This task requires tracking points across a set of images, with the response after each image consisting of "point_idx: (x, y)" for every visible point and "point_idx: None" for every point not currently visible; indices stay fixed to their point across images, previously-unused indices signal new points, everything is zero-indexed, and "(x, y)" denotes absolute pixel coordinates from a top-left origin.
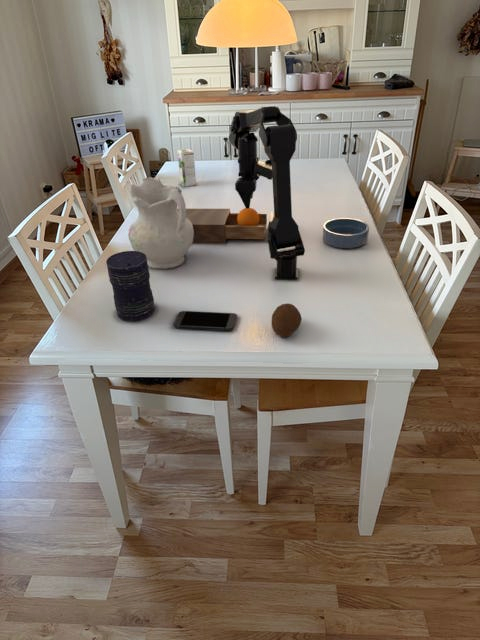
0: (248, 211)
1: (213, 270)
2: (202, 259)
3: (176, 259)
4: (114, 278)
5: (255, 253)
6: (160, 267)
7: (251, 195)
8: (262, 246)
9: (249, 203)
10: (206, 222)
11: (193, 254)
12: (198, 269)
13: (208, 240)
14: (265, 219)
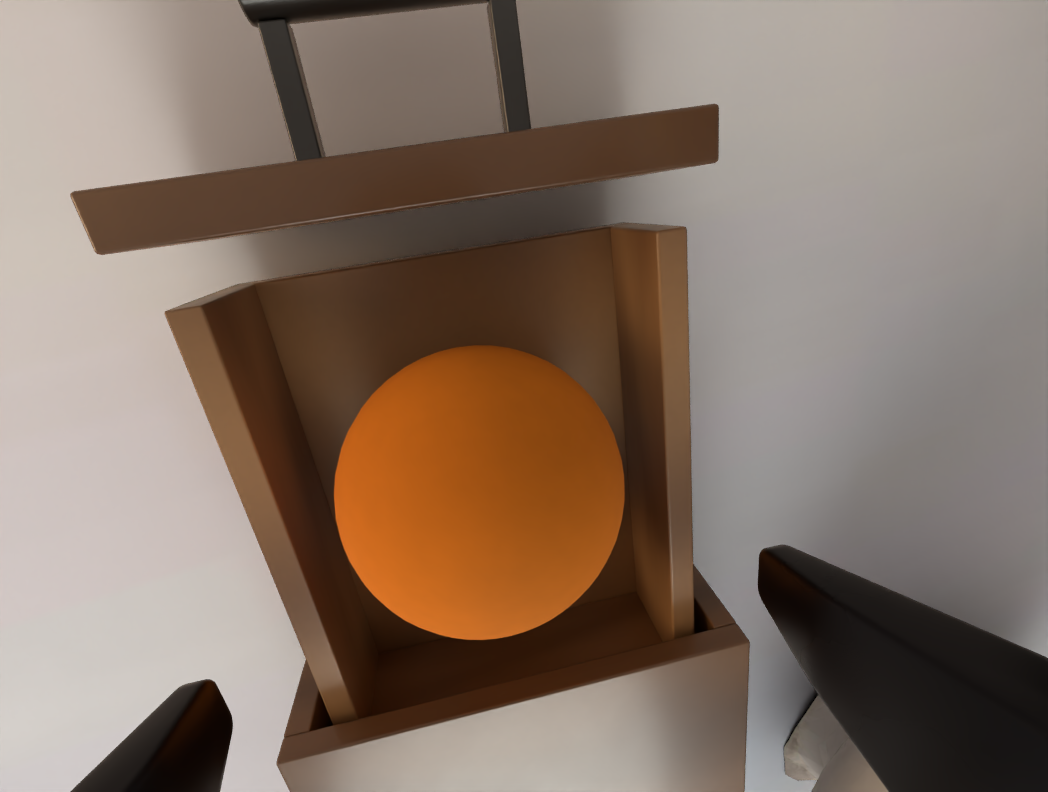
0: (577, 534)
1: (1033, 451)
2: (887, 561)
3: None
4: None
5: (826, 248)
6: None
7: (181, 755)
8: (693, 219)
9: (902, 605)
10: (698, 780)
11: None
12: (1004, 531)
13: None
14: (241, 306)
